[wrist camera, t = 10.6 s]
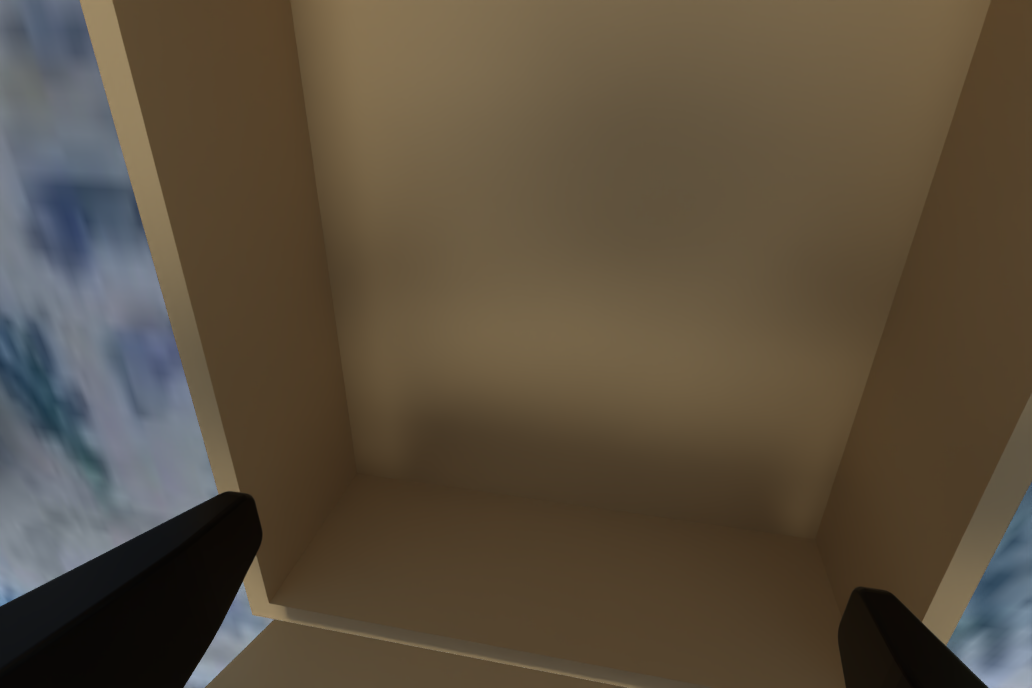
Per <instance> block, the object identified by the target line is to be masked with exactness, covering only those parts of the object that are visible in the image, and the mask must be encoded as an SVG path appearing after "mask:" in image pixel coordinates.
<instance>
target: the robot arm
mask: <svg viewBox="0 0 1032 688" xmlns="http://www.w3.org/2000/svg"><path fill="white" fill-rule="evenodd" d="M262 537H263V531H262V526H261V522H260V518H259V514H258V510H257V506H256V502H255V499H254V498H253V497H252V495H250V494H247V493H241V492H234V491H226V492H223V493H221V494H219V495H217V496H215V497H213V498H211V499H209V500H207V501H205V502H203V503H201V504H199V505H198V506H196V507H194V508H192V509H190V510H188V511H186V512H184V513H182V514H180V515H178V516H176V517H174V518H172V519H170V520H168V521H166V522H164V523H162V524H161V525H159V526H157V527H155V528H153V529H151V530H149V531H147V532H145V533H143V534H141V535H139V536H137V537H135V538H133V539H131V540H129V541H127V542H125V543H123V544H122V545H120V546H118V547H116V548H114V549H112V550H110V551H108V552H106V553H104V554H102V555H100V556H98V557H96V558H94V559H92V560H90V561H88V562H86V563H84V564H83V565H81V566H79V567H77V568H75V569H73V570H71V571H69V572H67V573H65V574H63V575H61V576H59V577H57V578H55V579H53V580H51V581H49V582H47V583H45V584H43V585H42V586H40V587H38V588H36V589H34V590H32V591H30V592H28V593H26V594H24V595H22V596H20V597H18V598H16V599H14V600H12V601H10V602H8V603H6V604H4V605H2V606H1V607H0V688H184V686H185V684H186V683H187V681H188V679H189V678H190V676H191V675H192V673H193V671H194V670H195V668H196V667H197V665H198V663H199V662H200V660H201V659H202V657H203V655H204V654H205V652H206V650H207V649H208V647H209V645H210V644H211V642H212V640H213V639H214V637H215V635H216V633H217V631H218V630H219V628H220V626H221V624H222V622H223V620H224V618H225V616H226V614H227V612H228V610H229V608H230V606H231V604H232V602H233V600H234V598H235V596H236V594H237V592H238V590H239V588H240V586H241V584H242V582H243V580H244V578H245V576H246V574H247V572H248V570H249V568H250V566H251V564H252V562H253V560H254V558H255V556H256V554H257V552H258V550H259V548H260V545H261V542H262ZM838 646H839V651H840V657H841V663H842V669H843V675H844V680H845V686H846V688H988V687H987V686H986V685H985V684H984V683H983V682H982V681H981V680H980V679H979V678H978V677H977V676H976V675H975V674H974V673H973V672H972V671H971V670H970V669H969V668H968V667H967V666H966V665H965V664H964V663H963V662H962V661H961V660H960V659H959V658H958V657H957V656H956V655H955V654H954V653H953V652H952V651H951V650H950V649H949V648H948V647H947V646H946V645H945V644H944V643H943V642H941V641H940V640H939V639H938V638H937V637H936V636H935V635H934V634H933V633H932V632H931V631H930V630H929V629H928V628H927V627H926V626H925V625H924V624H923V623H922V622H921V621H920V620H919V619H918V618H917V617H916V616H915V615H914V614H913V613H912V612H911V611H910V610H909V609H908V608H907V607H906V606H905V605H904V604H903V603H902V602H901V601H900V600H899V599H898V598H897V597H896V596H895V595H893V594H892V593H891V592H889V591H886V590H882V589H876V588H869V587H862V586H859V587H856V588H855V589H853V591H852V593H851V595H850V597H849V600H848V603H847V605H846V608H845V611H844V613H843V616H842V618H841V621H840V624H839V628H838Z"/></svg>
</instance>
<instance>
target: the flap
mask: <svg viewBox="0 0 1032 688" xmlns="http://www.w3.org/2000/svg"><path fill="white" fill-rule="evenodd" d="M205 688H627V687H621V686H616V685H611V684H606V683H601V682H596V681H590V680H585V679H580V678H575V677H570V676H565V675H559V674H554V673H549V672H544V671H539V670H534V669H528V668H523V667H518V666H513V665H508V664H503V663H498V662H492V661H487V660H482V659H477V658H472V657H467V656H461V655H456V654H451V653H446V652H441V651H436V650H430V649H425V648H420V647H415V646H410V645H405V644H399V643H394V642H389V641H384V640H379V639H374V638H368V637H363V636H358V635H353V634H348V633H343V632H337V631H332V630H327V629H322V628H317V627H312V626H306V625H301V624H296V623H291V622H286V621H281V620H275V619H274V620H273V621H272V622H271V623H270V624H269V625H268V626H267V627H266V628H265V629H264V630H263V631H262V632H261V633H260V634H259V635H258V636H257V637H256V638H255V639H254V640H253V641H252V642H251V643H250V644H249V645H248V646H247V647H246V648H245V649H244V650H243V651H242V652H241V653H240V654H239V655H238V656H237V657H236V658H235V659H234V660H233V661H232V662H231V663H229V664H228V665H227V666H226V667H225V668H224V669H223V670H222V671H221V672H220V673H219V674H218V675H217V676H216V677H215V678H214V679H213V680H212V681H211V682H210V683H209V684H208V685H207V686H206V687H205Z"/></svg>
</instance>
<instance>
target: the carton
mask: <svg viewBox="0 0 1032 688" xmlns="http://www.w3.org/2000/svg"><path fill="white" fill-rule="evenodd" d="M80 3H81V7H82V10H83V14H84V17H85V21H86V24H87V28H88V31H89V35H90V39H91V42H92V46H93V49H94V53H95V56H96V60H97V63H98V67H99V71H100V74H101V78H102V81H103V85H104V88H105V92H106V95H107V99H108V103H109V106H110V110H111V113H112V117H113V120H114V124H115V127H116V131H117V134H118V138H119V142H120V145H121V149H122V152H123V156H124V159H125V163H126V166H127V170H128V174H129V177H130V181H131V184H132V188H133V191H134V195H135V198H136V202H137V206H138V209H139V213H140V216H141V220H142V223H143V227H144V230H145V234H146V238H147V241H148V245H149V248H150V252H151V255H152V259H153V262H154V266H155V269H156V273H157V277H158V280H159V284H160V287H161V291H162V294H163V298H164V301H165V305H166V309H167V312H168V316H169V319H170V323H171V326H172V330H173V333H174V337H175V341H176V344H177V348H178V351H179V355H180V358H181V362H182V365H183V369H184V373H185V376H186V380H187V383H188V387H189V390H190V394H191V397H192V401H193V404H194V408H195V412H196V415H197V419H198V422H199V426H200V429H201V433H202V436H203V440H204V444H205V447H206V451H207V454H208V458H209V461H210V465H211V468H212V472H213V476H214V479H215V483H216V486H217V490H218V493H219V494H221V493H223V492H226V491H234V492H241V493H247V494H250V495H252V497H253V498H254V499H255V502H256V506H257V510H258V514H259V518H260V522H261V526H262V531H263V537H262V542H261V545H260V548H259V550H258V552H257V554H256V556H255V558H254V560H253V562H252V564H251V566H250V568H249V570H248V572H247V574H246V576H245V578H244V580H243V582H244V586H245V589H246V593H247V596H248V600H249V603H250V607H251V611H252V614H253V615H256V616H261V617H266V618H271V619H277V620H282V621H287V622H292V623H297V624H302V625H308V626H313V627H318V628H323V629H328V630H333V631H339V632H344V633H349V634H354V635H359V636H364V637H370V638H375V639H380V640H385V641H390V642H395V643H401V644H406V645H411V646H416V647H421V648H426V649H432V650H437V651H442V652H447V653H452V654H457V655H463V656H468V657H473V658H478V659H483V660H488V661H494V662H499V663H504V664H509V665H514V666H519V667H525V668H530V669H535V670H540V671H545V672H550V673H556V674H561V675H566V676H571V677H576V678H581V679H587V680H592V681H597V682H602V683H607V684H612V685H618V686H623V687H628V688H846V686H845V680H844V675H843V669H842V663H841V657H840V651H839V646H838V628H839V624H840V621H841V618H842V616H843V613H844V611H845V608H846V605H847V603H848V600H849V597H850V595H851V593H852V591H853V589H855V588H856V587H859V586H862V587H869V588H876V589H882V590H886V591H889V592H891V593H892V594H893V595H895V596H896V597H897V598H898V599H899V600H900V601H901V602H902V603H903V604H904V605H905V606H906V607H907V608H908V609H909V610H910V611H911V612H912V613H913V614H914V615H915V616H916V617H917V618H918V619H919V620H920V621H921V622H922V623H923V624H924V625H925V626H926V627H927V628H928V629H929V630H930V631H931V632H932V633H933V634H934V635H935V636H936V637H937V638H938V639H939V640H940V641H941V642H943V643H944V644H945V645H947V643H948V641H949V639H950V637H951V635H952V633H953V632H954V630H955V628H956V626H957V624H958V622H959V620H960V618H961V616H962V614H963V612H964V610H965V608H966V607H967V605H968V603H969V601H970V599H971V597H972V595H973V593H974V591H975V589H976V587H977V585H978V583H979V582H980V580H981V578H982V576H983V574H984V572H985V570H986V568H987V566H988V564H989V562H990V560H991V558H992V557H993V555H994V553H995V551H996V549H997V547H998V545H999V543H1000V541H1001V539H1002V537H1003V535H1004V533H1005V532H1006V530H1007V528H1008V526H1009V524H1010V522H1011V520H1012V518H1013V516H1014V514H1015V512H1016V510H1017V508H1018V507H1019V505H1020V503H1021V501H1022V499H1023V497H1024V495H1025V493H1026V491H1027V489H1028V487H1029V485H1030V483H1031V482H1032V0H80Z"/></svg>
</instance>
